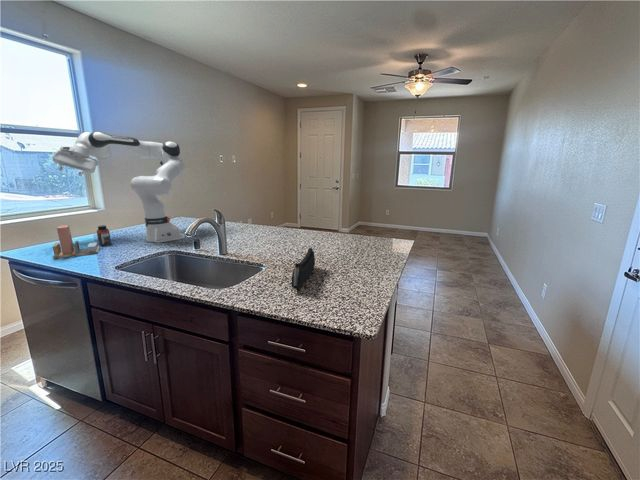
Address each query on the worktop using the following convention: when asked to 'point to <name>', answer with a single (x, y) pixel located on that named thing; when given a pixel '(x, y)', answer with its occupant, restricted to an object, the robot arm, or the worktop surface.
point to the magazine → (303, 270)
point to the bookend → (77, 248)
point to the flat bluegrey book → (92, 247)
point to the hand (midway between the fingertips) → (70, 172)
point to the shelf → (59, 254)
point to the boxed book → (65, 239)
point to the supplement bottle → (103, 235)
